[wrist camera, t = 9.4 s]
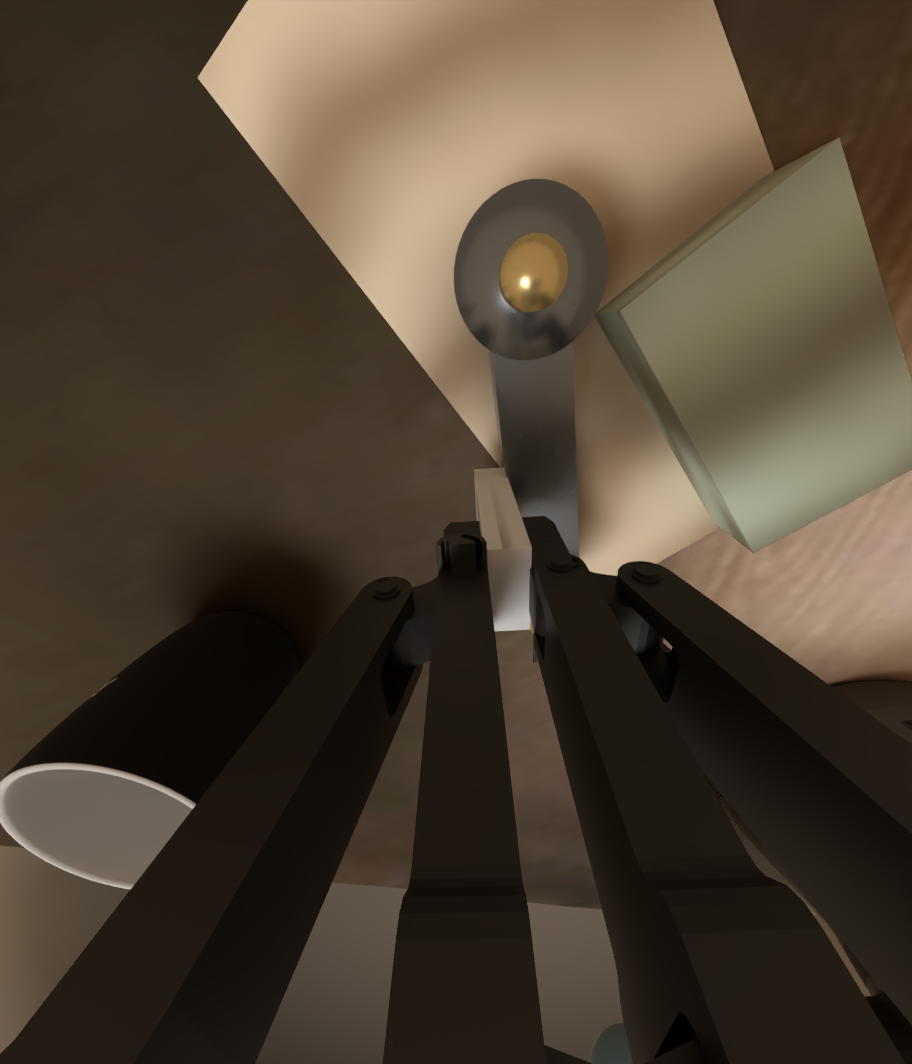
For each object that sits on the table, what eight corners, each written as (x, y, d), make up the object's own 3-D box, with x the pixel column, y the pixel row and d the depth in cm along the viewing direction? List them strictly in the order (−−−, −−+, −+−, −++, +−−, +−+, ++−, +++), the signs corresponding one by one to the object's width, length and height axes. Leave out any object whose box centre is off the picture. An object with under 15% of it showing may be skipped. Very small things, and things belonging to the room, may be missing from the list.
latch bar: (447, 227, 14) (438, 184, 10) (576, 200, 13) (623, 143, 9) (497, 583, 20) (504, 646, 16) (585, 573, 20) (615, 635, 16)
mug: (178, 569, 22) (-27, 735, 13) (335, 621, 23) (249, 805, 14) (163, 706, 27) (9, 895, 18) (293, 743, 28) (210, 936, 19)
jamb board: (855, 437, 18) (947, 463, 14) (595, 586, 22) (618, 634, 18) (541, -400, 9) (581, -814, 6) (212, 91, 13) (124, 9, 10)
